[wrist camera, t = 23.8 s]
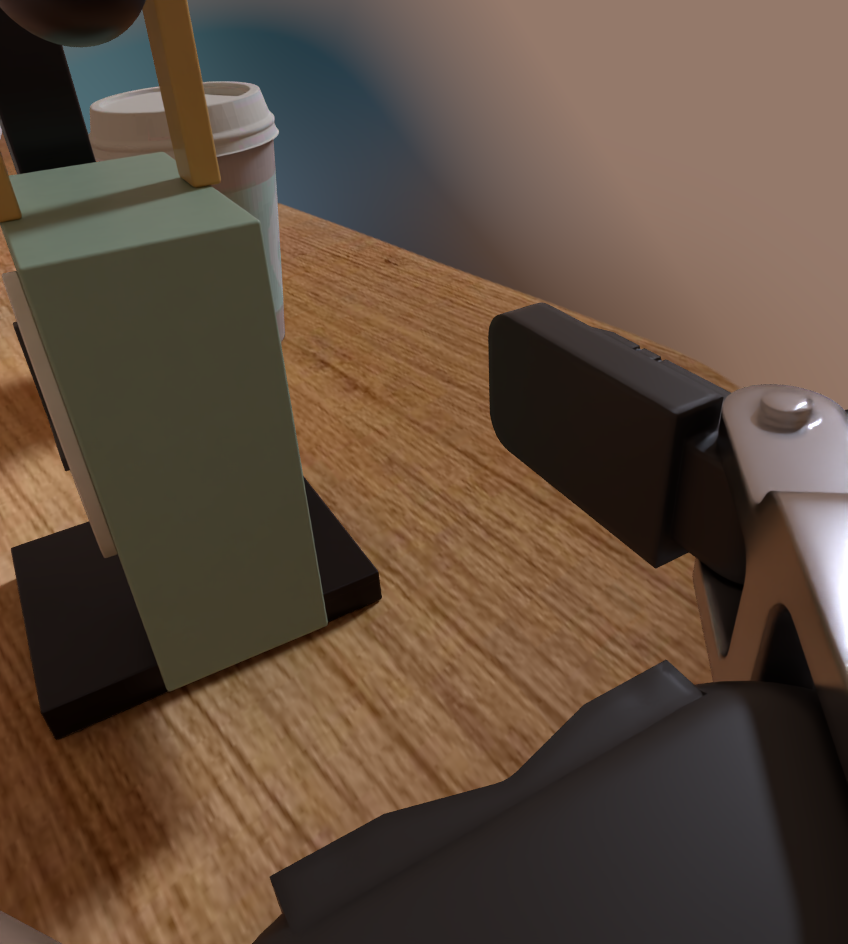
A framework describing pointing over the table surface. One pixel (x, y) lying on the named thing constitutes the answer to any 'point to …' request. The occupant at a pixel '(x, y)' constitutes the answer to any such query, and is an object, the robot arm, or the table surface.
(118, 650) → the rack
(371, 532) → the table surface
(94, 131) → the coffee cup
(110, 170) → the green box with handle
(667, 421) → the robot arm
